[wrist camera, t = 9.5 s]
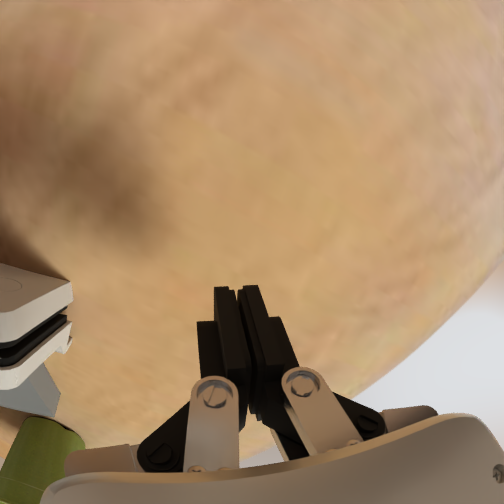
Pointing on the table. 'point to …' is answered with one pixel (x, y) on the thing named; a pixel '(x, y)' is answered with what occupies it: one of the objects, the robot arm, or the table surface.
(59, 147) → the table surface
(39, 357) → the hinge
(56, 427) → the plant pot
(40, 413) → the gray u-shaped block
